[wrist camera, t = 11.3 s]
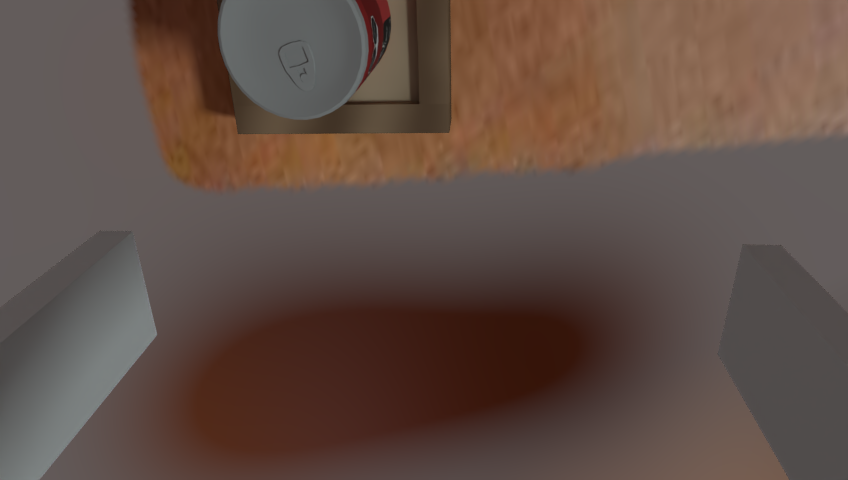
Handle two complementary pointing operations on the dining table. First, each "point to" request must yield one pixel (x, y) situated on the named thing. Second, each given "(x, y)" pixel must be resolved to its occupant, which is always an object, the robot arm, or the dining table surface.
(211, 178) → the dining table surface
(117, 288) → the robot arm
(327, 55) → the canned food
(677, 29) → the dining table surface
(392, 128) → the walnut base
